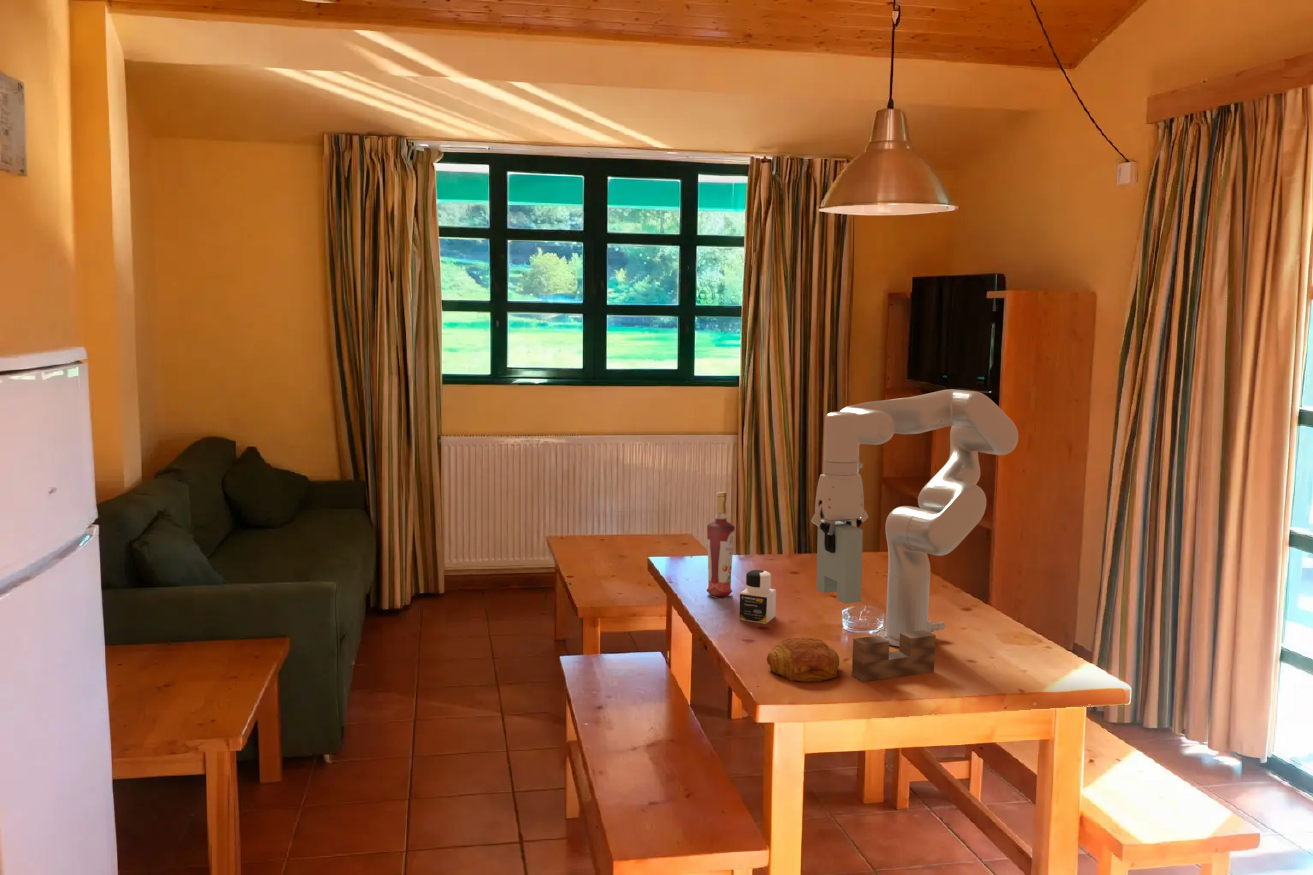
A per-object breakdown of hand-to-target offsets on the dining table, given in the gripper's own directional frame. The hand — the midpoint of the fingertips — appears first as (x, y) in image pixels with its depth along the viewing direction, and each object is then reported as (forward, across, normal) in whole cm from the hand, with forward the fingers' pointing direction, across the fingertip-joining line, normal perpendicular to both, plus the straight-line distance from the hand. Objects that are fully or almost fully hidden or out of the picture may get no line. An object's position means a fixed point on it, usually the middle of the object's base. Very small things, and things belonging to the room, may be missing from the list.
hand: (839, 549), depth 232 cm
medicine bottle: (+24, +4, -31) cm, 39 cm away
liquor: (+24, +4, -53) cm, 58 cm away
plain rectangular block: (+10, 0, 0) cm, 10 cm away
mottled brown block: (+24, -5, +14) cm, 28 cm away
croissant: (+24, +12, +7) cm, 28 cm away
